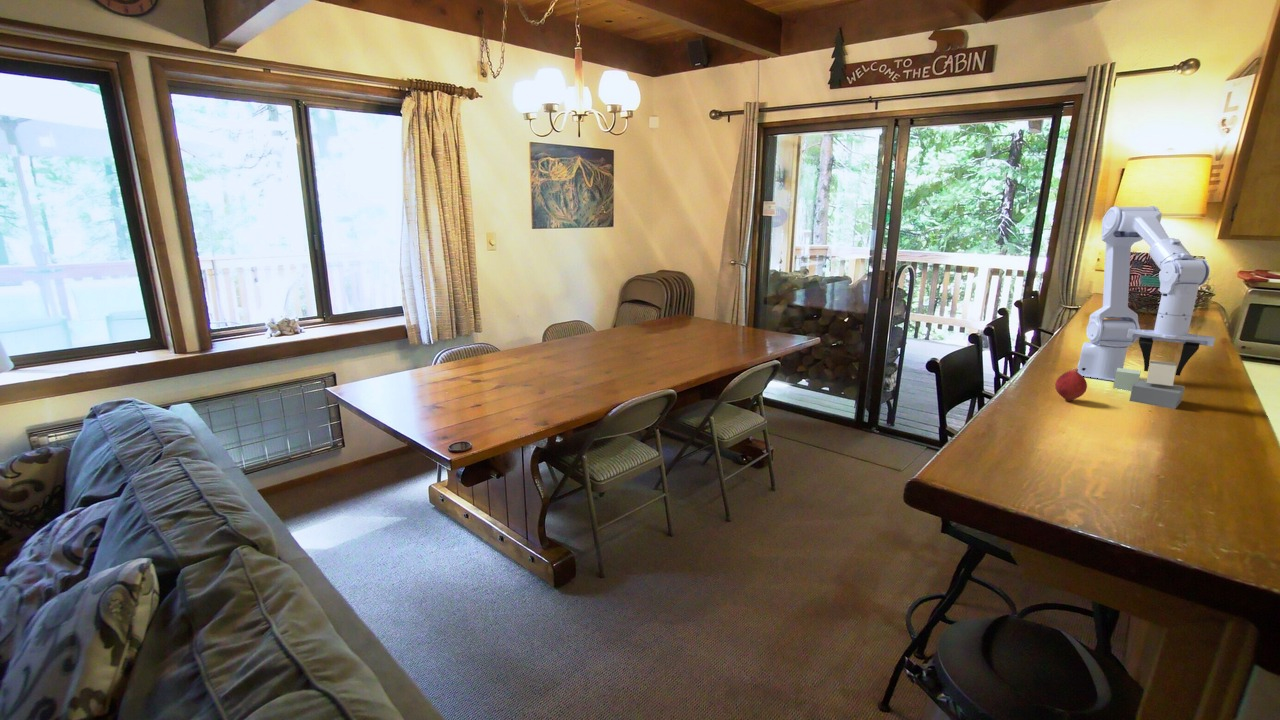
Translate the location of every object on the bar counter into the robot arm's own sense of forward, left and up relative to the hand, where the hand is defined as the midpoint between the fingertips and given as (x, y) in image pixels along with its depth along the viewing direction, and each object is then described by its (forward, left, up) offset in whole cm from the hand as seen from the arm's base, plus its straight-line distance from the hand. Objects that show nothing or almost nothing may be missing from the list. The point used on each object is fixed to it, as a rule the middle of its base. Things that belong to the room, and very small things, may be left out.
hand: (1161, 372), depth 133 cm
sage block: (-6, +9, -7) cm, 13 cm away
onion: (-15, -13, -7) cm, 21 cm away
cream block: (0, 0, -2) cm, 2 cm away
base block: (0, 0, -7) cm, 7 cm away
